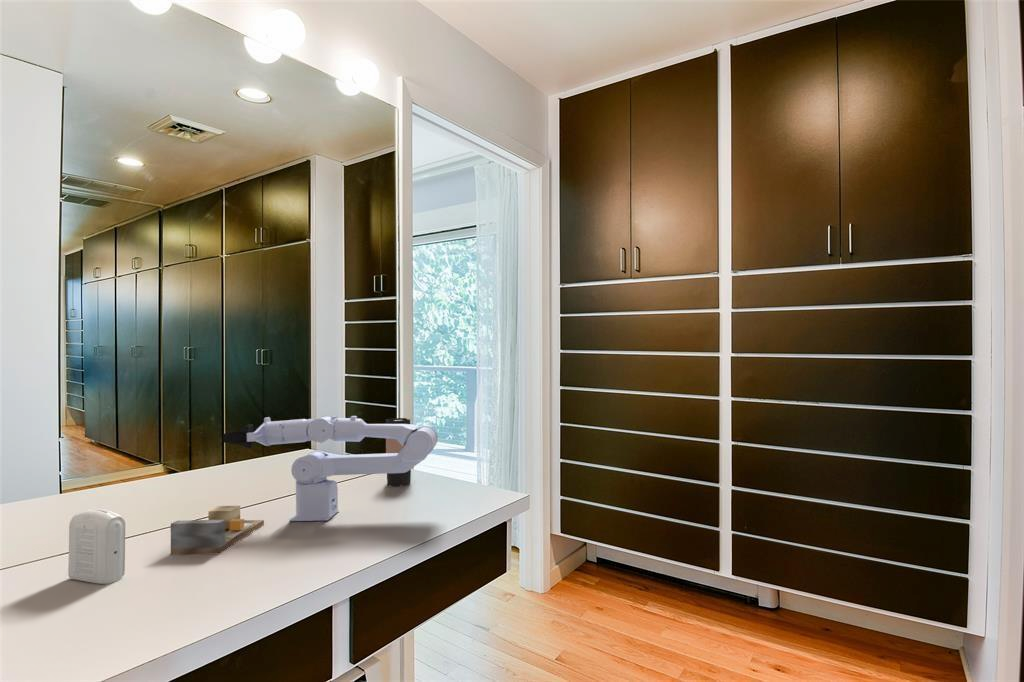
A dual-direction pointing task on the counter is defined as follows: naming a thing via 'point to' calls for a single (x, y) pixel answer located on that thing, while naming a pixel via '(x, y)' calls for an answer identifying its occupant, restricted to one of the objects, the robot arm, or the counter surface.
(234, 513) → the tan rectangular block
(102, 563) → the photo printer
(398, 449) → the travel mug
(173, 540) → the base
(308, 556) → the counter surface
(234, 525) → the block
